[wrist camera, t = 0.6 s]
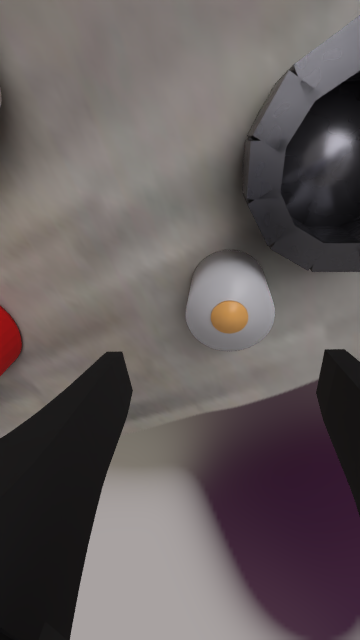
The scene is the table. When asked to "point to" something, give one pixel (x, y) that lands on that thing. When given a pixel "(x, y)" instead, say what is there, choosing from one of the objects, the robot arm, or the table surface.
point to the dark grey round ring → (310, 158)
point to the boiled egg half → (229, 302)
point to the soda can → (8, 341)
